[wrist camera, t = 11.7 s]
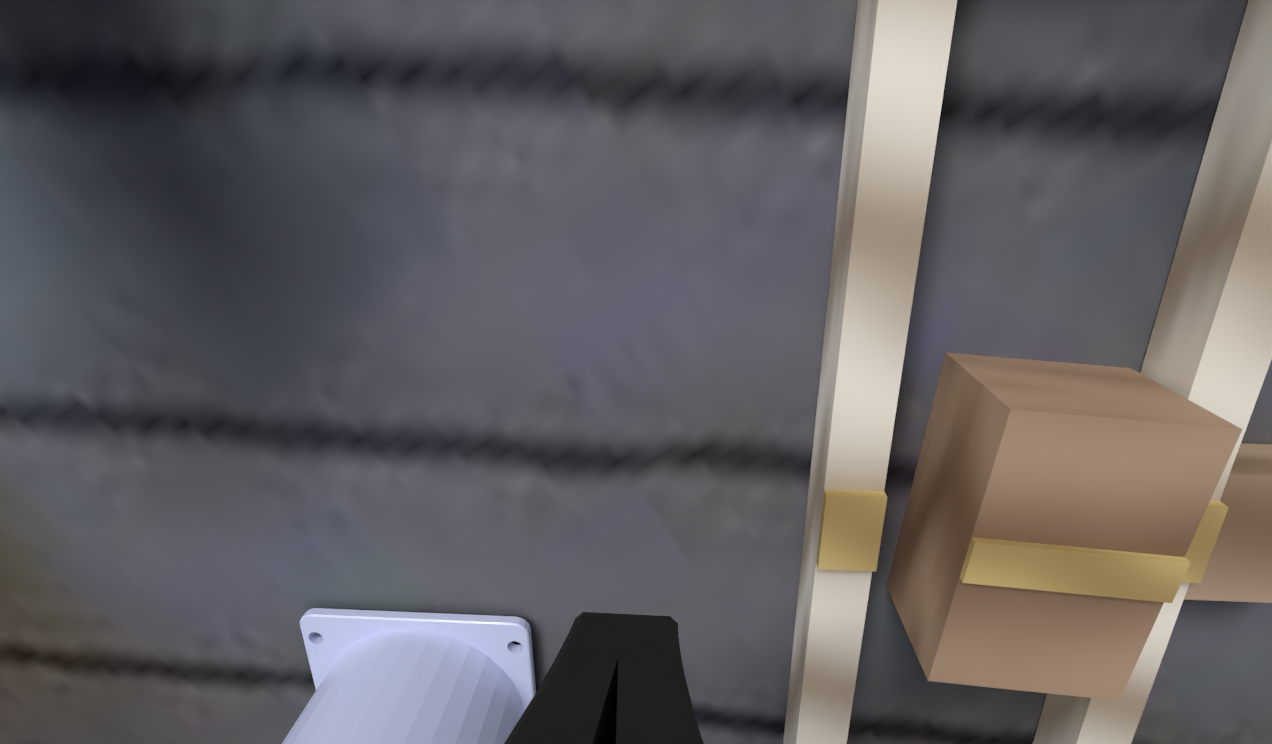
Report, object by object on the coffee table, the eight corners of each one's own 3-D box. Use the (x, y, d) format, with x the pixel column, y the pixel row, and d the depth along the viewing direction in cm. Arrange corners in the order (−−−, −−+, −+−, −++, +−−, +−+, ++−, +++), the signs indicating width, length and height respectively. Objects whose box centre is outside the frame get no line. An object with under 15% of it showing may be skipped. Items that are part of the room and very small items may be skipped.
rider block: (1041, 597, 21) (1124, 707, 17) (884, 582, 21) (930, 686, 17) (1126, 365, 18) (1249, 433, 14) (943, 350, 18) (1014, 412, 14)
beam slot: (1130, 849, 24) (1170, 913, 22) (774, 827, 25) (782, 886, 23) (1552, -209, 13) (1706, -268, 11) (876, -182, 14) (908, -233, 12)
